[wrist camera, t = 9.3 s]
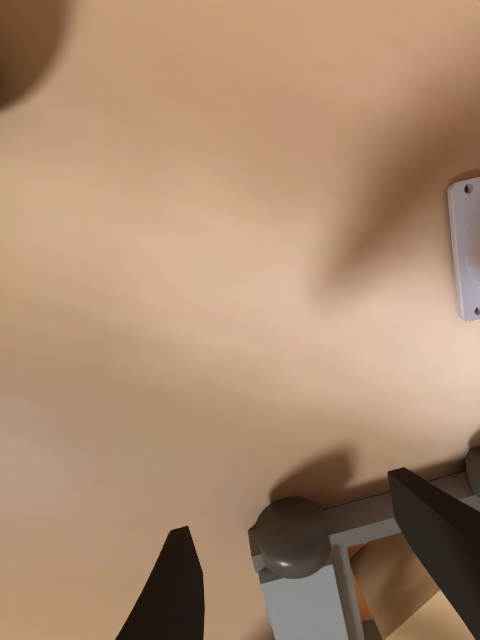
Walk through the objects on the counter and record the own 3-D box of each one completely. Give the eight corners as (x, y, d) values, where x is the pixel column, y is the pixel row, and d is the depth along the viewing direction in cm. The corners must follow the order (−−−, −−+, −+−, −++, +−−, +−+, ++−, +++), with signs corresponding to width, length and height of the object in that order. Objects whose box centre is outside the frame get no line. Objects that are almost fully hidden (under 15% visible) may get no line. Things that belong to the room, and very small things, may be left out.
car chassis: (518, 435, 24) (584, 474, 19) (528, 600, 27) (586, 664, 23) (242, 509, 23) (250, 567, 19) (285, 671, 26) (300, 751, 22)
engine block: (395, 515, 24) (444, 586, 19) (445, 559, 25) (503, 635, 20) (347, 560, 24) (383, 640, 19) (398, 601, 25) (444, 686, 20)
